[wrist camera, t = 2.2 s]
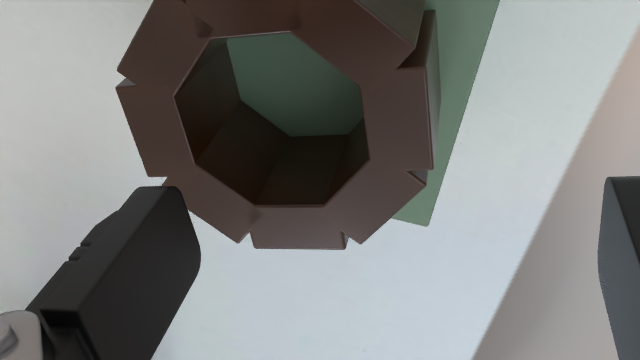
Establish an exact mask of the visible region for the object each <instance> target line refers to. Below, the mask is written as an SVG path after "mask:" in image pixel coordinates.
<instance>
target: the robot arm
mask: <svg viewBox="0 0 640 360" xmlns="http://www.w3.org/2000/svg"><path fill="white" fill-rule="evenodd" d="M80 244H81V246H80V247H77V248H76V249H75V250H74V252H73V253H72V254H71V255H70V256H69V261H65V262H64V264H63V265H62V266H61V267H60V268H59V270H58V271H57V272H56V273H55V274H54V276H53V277H52V278H51V279H50V280H49V282H48V283H47V284H46V285H45V286H44V288H43V289H42V290H41V291H40V292H39V294H38V295H37V296H36V297H35V298H34V300H33V301H32V302H31V303H30V304H29V305H28V307H27V308H26V309H25V310H16V311H10V312H6V313H2V314H0V360H151V358H152V357H153V355H154V353H155V351H156V349H157V347H158V346H159V344H160V342H161V340H162V338H163V337H164V335H165V333H166V331H167V329H168V327H169V326H170V324H171V322H172V320H173V318H174V317H175V315H176V313H177V311H178V309H179V307H180V306H181V304H182V302H183V300H184V298H185V297H186V295H187V293H188V291H189V289H190V287H191V286H192V284H193V282H194V280H195V278H196V277H197V274H198V272H199V268H200V263H201V251H200V246H199V242H198V239H197V236H196V233H195V230H194V227H193V224H192V222H191V219H190V216H189V213H188V210H187V207H186V204H185V201H184V198H183V195H182V193H181V191H180V190H179V189H178V188H177V187H175V186H149V187H139V188H137V189H136V190H135V191H134V192H133V193H132V194H131V196H130V197H129V198H128V199H127V201H126V202H125V203H124V204H123V206H122V207H121V208H120V209H119V210H118V211H115V212H114V213H113V214H111V215H110V216H108V217H107V218H106V219H104V220H103V221H101V222H100V223H99V224H97V225H96V226H95V227H94V228H93V229H92V230H91V231H90V233H89V234H88V235H87V236H86V237H85V239H84V240H83V241H82V242H81V243H80ZM598 271H599V279H600V285H601V289H602V293H603V297H604V301H605V305H606V309H607V313H608V317H609V321H610V325H611V329H612V333H613V337H614V341H615V345H616V349H617V353H618V357H619V360H640V176H627V177H607V179H606V181H605V186H604V194H603V204H602V214H601V224H600V234H599V245H598Z"/></svg>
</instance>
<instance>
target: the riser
mask: <svg viewBox="0 0 640 360" xmlns="http://www.w3.org/2000/svg"><path fill="white" fill-rule="evenodd" d="M499 1H500V0H426V3H425V7H424V11H428V10H435V11H436V17H437V34H438V50H439V67H440V84H441V107H440V117H439V126H438V135H437V144H436V154H435V163H434V169H433V170H429V171H428V178H427V185H426V187H425V188H424V189H423V190H421V191H420V192H419V193H418V194H417V195H416V196H415V197H414V198H412V199H411V200H410V201H409V202H408V203H407V204H406V205H405V206H404V207H402V208H401V209H400V210H399V211H398V212H397V213H396V214H395V215H393V216H392V217H391V218H393V219H397V220H401V221H405V222H409V223H413V224H417V225H422V226H426V227H427V226H428V225H429V222H430V219H431V216H432V213H433V210H434V206H435V203H436V200H437V197H438V194H439V191H440V187H441V184H442V181H443V178H444V175H445V172H446V169H447V165H448V162H449V159H450V156H451V153H452V150H453V146H454V143H455V140H456V137H457V134H458V131H459V127H460V124H461V121H462V118H463V115H464V112H465V109H466V105H467V102H468V99H469V96H470V93H471V90H472V86H473V83H474V80H475V77H476V74H477V71H478V68H479V64H480V61H481V58H482V55H483V52H484V49H485V45H486V42H487V39H488V36H489V33H490V30H491V26H492V23H493V20H494V17H495V14H496V11H497V8H498V4H499ZM226 43H227V47H228V51H229V55H230V59H231V63H232V67H233V71H234V75H235V79H236V83H237V87H238V91H239V95H240V99H241V100H242V101H243V102H244V103H246V104H247V105H248V106H250V107H251V108H252V109H254V110H255V111H256V112H258V113H259V114H261V115H262V116H263V117H265V118H266V119H267V120H269V121H270V122H271V123H273V124H274V125H276V126H277V127H278V128H280V129H281V130H282V131H284V132H285V133H286V134H288V135H289V136H290V137H293V136H318V135H344V134H349V133H350V132H351V131H352V130H353V129H354V128H355V127H356V125H357V124H358V123H359V122H360V121H361V120H362V119H363V118H364V117H363V110H362V103H361V95H360V88H359V85H357V84H356V83H355V82H353V81H352V80H351V79H350V78H348V77H347V76H346V75H344V74H343V73H342V72H341V71H339V70H338V69H337V68H335V67H334V66H333V65H332V64H330V63H329V62H328V61H326V60H325V59H324V58H323V57H321V56H320V55H319V54H317V53H316V52H315V51H313V50H312V49H311V48H310V47H308V46H307V45H306V44H304V43H303V42H302V41H301V40H299V39H298V38H297V37H295V36H294V35H293V34H292V33H284V34H272V35H261V36H249V37H238V38H228V39H227V41H226Z"/></svg>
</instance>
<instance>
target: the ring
mask: <svg viewBox="0 0 640 360" xmlns="http://www.w3.org/2000/svg"><path fill="white" fill-rule="evenodd" d="M425 3H426V0H154V1H153V2H152V4H151V6H150V8H149V10H148V12H147V14H146V15H145V17H144V19H143V21H142V23H141V25H140V26H139V28H138V30H137V32H136V34H135V36H134V38H133V39H132V41H131V43H130V45H129V47H128V49H127V51H126V52H125V54H124V56H123V58H122V60H121V62H120V63H119V65H118V67H117V71H118V72H119V73H120V74H122V75H123V76H125V77H126V78H125V79H124V80H123V81H122V82H121V83H120V84H118V85H117V86H116V91H117V94H118V97H119V99H120V102H121V105H122V108H123V110H124V113H125V116H126V118H127V121H128V124H129V127H130V129H131V132H132V135H133V137H134V140H135V143H136V146H137V148H138V151H139V154H140V156H141V159H142V162H143V165H144V167H145V170H146V173H147V175H148V177H167V178H166V180H165V181H164V183H163V184H162V186H175V187H177V188H178V189H179V190H180V191H181V193H182V195H183V198H184V201H185V204H186V207H187V209H188V210H189V211H191V212H192V213H193V214H195V215H196V216H198V217H199V218H201V219H202V220H204V221H205V222H207V223H208V224H210V225H211V226H213V227H214V228H215V229H217V230H218V231H220V232H221V233H223V234H224V235H226V236H227V237H229V238H230V239H232V240H233V241H235V242H236V243H240V242H241V241H242V240H243V238H244V237H245V236H246V235H247V234H248V233H249V232H250V235H251V238H252V242H253V245H254V248H256V249H326V250H344V249H345V248H346V246H347V242H348V238H349V237H350V238H352V239H353V240H354V241H356V242H357V243H359V244H362V243H363V242H364V241H366V240H367V239H368V238H369V237H370V236H371V235H372V234H373V233H375V232H376V231H377V230H378V229H379V228H380V227H381V226H382V225H383V224H385V223H386V222H387V221H388V220H389V219H390V218H391V217H392V216H393V215H395V214H396V213H397V212H398V211H399V210H400V209H401V208H402V207H404V206H405V205H406V204H407V203H408V202H409V201H410V200H411V199H412V198H414V197H415V196H416V195H417V194H418V193H419V192H420V191H421V190H423V189H424V188H425V187H426V185H427V178H428V171H429V170H433V169H434V163H435V154H436V144H437V135H438V126H439V117H440V107H441V84H440V67H439V50H438V34H437V17H436V11H435V10H428V11H424V7H425ZM284 33H292V34H293V35H294V36H295V37H297V38H298V39H299V40H301V41H302V42H303V43H304V44H306V45H307V46H308V47H310V48H311V49H312V50H313V51H315V52H316V53H317V54H319V55H320V56H321V57H323V58H324V59H325V60H326V61H328V62H329V63H330V64H332V65H333V66H334V67H335V68H337V69H338V70H339V71H341V72H342V73H343V74H344V75H346V76H347V77H348V78H350V79H351V80H352V81H353V82H355V83H356V84H357V85H359V88H360V95H361V103H362V110H363V117H364V118H363V119H362V120H361V121H360V122H359V123H358V124H357V125H356V127H355V128H354V129H353V130H352V131H351V132H350V133H349V134H344V135H318V136H293V137H290V136H289V135H288V134H286V133H285V132H284V131H282V130H281V129H280V128H278V127H277V126H276V125H274V124H273V123H271V122H270V121H269V120H267V119H266V118H265V117H263V116H262V115H261V114H259V113H258V112H256V111H255V110H254V109H252V108H251V107H250V106H248V105H247V104H246V103H244V102H243V101H242V100H241V99H240V95H239V91H238V87H237V83H236V79H235V75H234V71H233V67H232V63H231V59H230V55H229V51H228V47H227V43H226V41H227V39H228V38H238V37H249V36H261V35H272V34H284Z"/></svg>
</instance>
